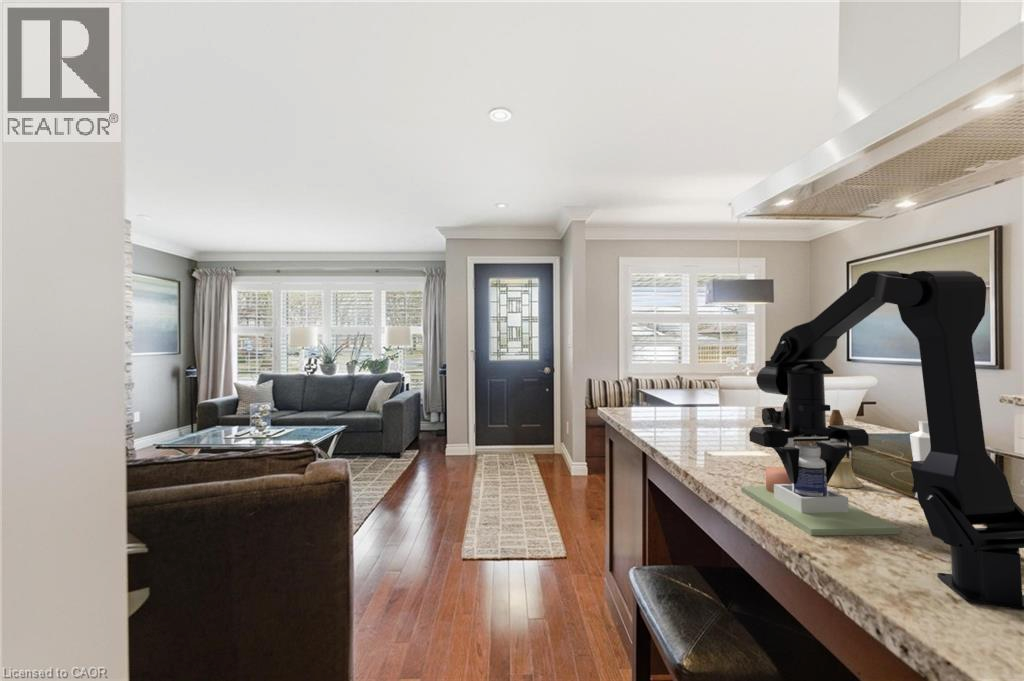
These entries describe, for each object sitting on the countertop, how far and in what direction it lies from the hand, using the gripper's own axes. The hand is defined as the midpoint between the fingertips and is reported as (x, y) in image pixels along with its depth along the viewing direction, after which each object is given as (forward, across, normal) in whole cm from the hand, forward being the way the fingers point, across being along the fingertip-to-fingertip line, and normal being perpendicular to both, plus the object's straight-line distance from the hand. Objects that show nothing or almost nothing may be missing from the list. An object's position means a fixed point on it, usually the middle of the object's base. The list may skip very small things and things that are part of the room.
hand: (809, 483), depth 81 cm
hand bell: (+5, -17, -16) cm, 23 cm away
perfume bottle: (+5, -26, -4) cm, 26 cm away
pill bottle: (+3, 0, 0) cm, 3 cm away
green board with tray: (+5, 0, 0) cm, 5 cm away
